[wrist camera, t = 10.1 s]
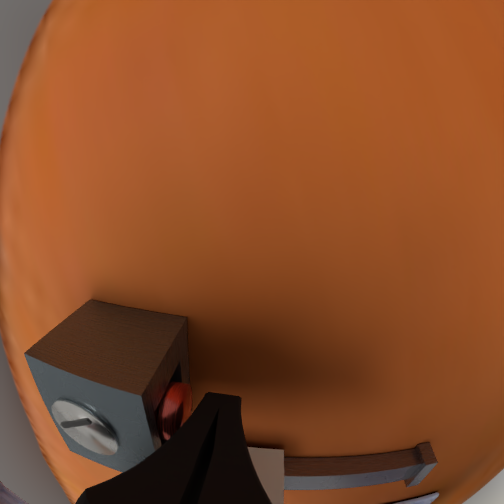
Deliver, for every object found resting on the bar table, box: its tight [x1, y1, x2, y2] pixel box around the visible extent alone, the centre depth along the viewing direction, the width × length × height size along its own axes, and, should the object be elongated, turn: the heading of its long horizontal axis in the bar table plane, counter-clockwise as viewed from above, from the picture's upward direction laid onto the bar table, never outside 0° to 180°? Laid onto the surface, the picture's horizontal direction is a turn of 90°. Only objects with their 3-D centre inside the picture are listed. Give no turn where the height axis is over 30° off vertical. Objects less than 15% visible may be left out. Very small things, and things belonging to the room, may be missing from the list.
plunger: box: [154, 381, 192, 441], centre depth 10 cm, size 3×4×3 cm, turn 86°
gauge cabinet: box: [24, 300, 192, 472], centre depth 10 cm, size 6×5×5 cm
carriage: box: [248, 447, 284, 504], centre depth 12 cm, size 5×4×5 cm
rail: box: [284, 442, 438, 490], centre depth 13 cm, size 3×18×2 cm, turn 86°
